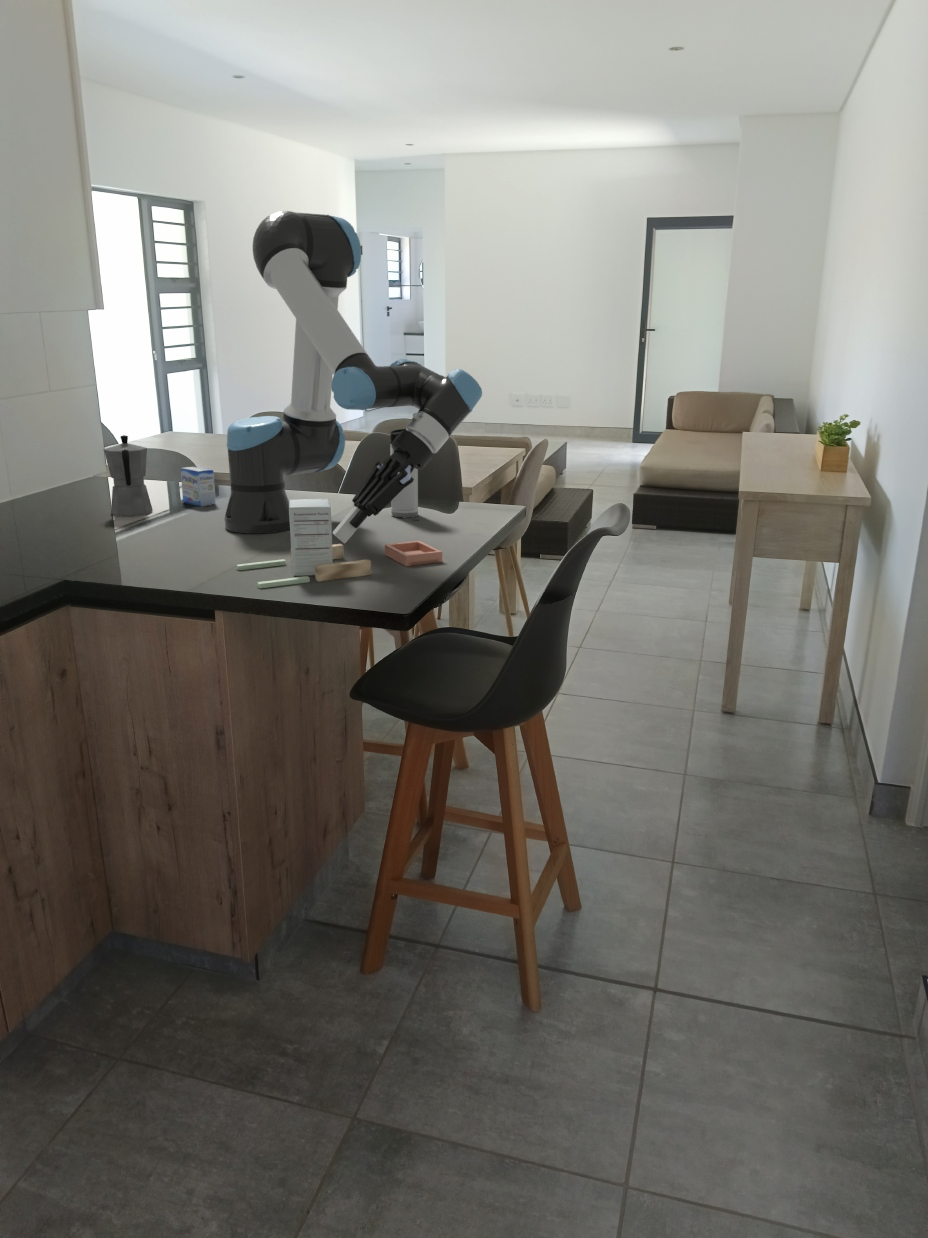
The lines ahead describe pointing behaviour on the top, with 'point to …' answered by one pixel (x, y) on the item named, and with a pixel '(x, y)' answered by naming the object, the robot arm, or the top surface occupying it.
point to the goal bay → (273, 582)
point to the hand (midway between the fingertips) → (338, 538)
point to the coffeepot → (128, 479)
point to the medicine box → (198, 486)
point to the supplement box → (310, 535)
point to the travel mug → (405, 492)
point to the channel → (341, 567)
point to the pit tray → (413, 553)
